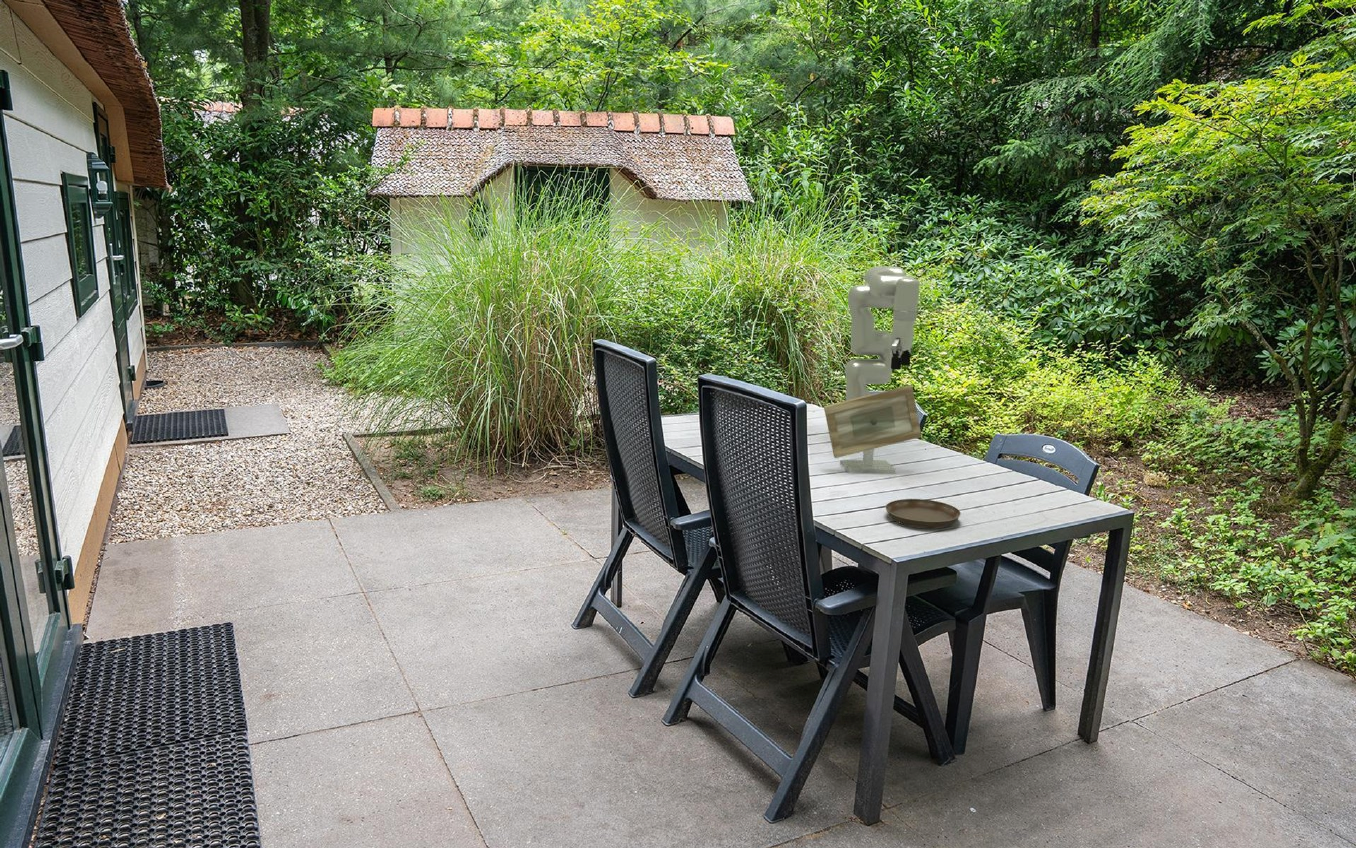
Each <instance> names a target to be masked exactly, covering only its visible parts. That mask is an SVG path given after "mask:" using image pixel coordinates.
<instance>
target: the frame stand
mask: <svg viewBox="0 0 1356 848" xmlns="http://www.w3.org/2000/svg"><path fill="white" fill-rule="evenodd" d="M874 452H875V449H871V450H867V451H863V454H862V459H840V462H839V465H840V466H841V467H842V468H843V469H844V470H845V471H846V472H847V473H848V474H888V475H889V474H891V475H893V474H896V473H897V472H896V468H895V467H894V466H893V465H892V464H890V463H889V462H888V461H887V460H879V459H875V460H874V455H875V453H874Z"/></svg>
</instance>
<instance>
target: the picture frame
mask: <svg viewBox="0 0 1356 848" xmlns="http://www.w3.org/2000/svg"><path fill="white" fill-rule="evenodd" d="M870 394H871V393H870ZM823 410H824V414H825V420H826V425H827V429H828V430H827V431H828V435H829V439H830V443H831V448H832V449H831V450H832V453H833V458H834V459H838V458H842V457H847V456H850V455H854V454H858V453H862V452H863V451H867V450H871V449H874V450H875V449H879V448H883V447H887V446H890V445H895V444H900V443H903V442H906V441H911V440H915V439H919V438H922V437H923V436H922V432H921V426H920V422H919V421H920V420H919V415H918V411H917V405H916V399H915V393H914V388H913V385H912V384H908V385H905V386H900V387H896V388H891V389H888V390H884V391H880V392H876V393H872V394H871V395H867V396H863V397H859V398H855V399H851V400H847V401H846V400H843V401H839V402H835V403H831V404H828V405H824V406H823Z"/></svg>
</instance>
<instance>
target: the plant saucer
mask: <svg viewBox="0 0 1356 848" xmlns="http://www.w3.org/2000/svg"><path fill="white" fill-rule="evenodd" d="M885 510H886V512H887V513H888V515H889V516H890V518H891V519H893V520H894V521H895V522H896V523H898V522H900V523H899V524H901V523H902V524H901V525H904V526H907V525H908V527H911V526H912V528H917V527H919V528H918V529H928V528H929V529H932V530H933V529H942V528H943V529H944V528H946V527H949V526H951V525H953V524H955V522H956V521H957V520H958V519H959V518H960V516H961V515H962V513H961V511H960V510H959V509H958V508H957V507H955V506H953V505H952V504H948V503H945V502H941V501H937V500H931V499H925V498H923V499H922V498H905V499H896V500H893V501H889V502H888V503H887V504H886V505H885Z"/></svg>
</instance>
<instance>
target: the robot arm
mask: <svg viewBox="0 0 1356 848" xmlns="http://www.w3.org/2000/svg"><path fill="white" fill-rule="evenodd" d="M864 282H865V284H857V285H853V286H852V287H850V288H849V290H848V294H847V304H848V309H849V312H850V317H851V325H850V326H851V327H850V328H851V329H850V350H851V353H852V354H854V355H857V356H873V357H874V356H875V357H876V356H878V358H854V359H851V360H848V361H847V362H846V365H845V368H844V371H845V383H846V385H845V389H846V392H845V401H847V400H851V399H855V398H859V397H863V396H867V395H871V392H870V391H869V389H868V388H867V386H866V385H885V384H888V383H889V382H890V381H891V379H892V374H893V370H898V371H901V369H902V366H907V367H910V365H911V355H912V348H913V342H914V329H915V327H914V324H915V322H916V321H917V318H918V317H917V316H918V306H919V305H918V304H919V294H920V293H919V292H920V281H919V279H917V278H914V277H913V276H910V275H906V271H905V270H904V269H903V268H902V267H900V266H886V265H885V266H883V265H882V266H881V265H879V266H877V265H876V266H872V267H870V268H869V269H867V271H866V272H865V274H864ZM870 308H871V309H891V308H893V314H892V320H893V325H892V329H891V333H890V332H889V331H886V330H875V316H874V314H873V313H872V311H871V310H870Z"/></svg>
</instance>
